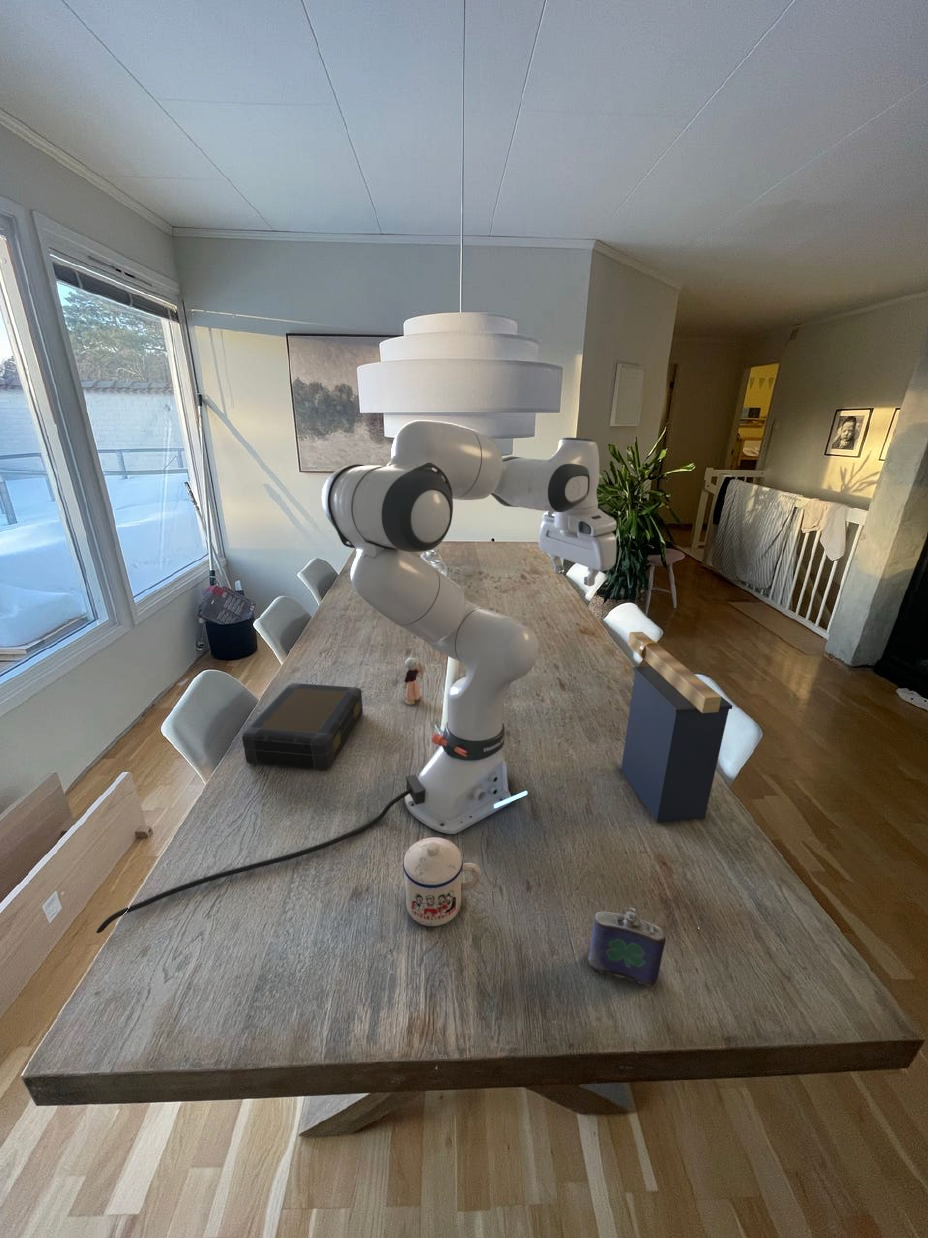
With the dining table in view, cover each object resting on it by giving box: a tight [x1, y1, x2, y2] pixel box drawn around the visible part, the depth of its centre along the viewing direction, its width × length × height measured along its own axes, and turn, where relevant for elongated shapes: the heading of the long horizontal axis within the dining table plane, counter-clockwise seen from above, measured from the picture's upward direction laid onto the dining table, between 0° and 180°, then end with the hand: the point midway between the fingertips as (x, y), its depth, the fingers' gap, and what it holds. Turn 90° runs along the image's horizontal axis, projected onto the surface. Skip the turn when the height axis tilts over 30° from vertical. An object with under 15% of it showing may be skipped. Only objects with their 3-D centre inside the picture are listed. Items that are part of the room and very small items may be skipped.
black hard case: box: [241, 682, 364, 772], centre depth 122 cm, size 25×20×8 cm
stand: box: [620, 663, 733, 823], centre depth 101 cm, size 17×11×25 cm, turn 8°
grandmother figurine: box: [402, 657, 421, 706], centre depth 138 cm, size 8×4×13 cm, turn 169°
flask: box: [587, 906, 667, 987], centre depth 70 cm, size 9×3×11 cm, turn 72°
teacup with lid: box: [402, 836, 482, 927], centre depth 79 cm, size 12×9×12 cm
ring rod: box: [627, 631, 722, 713], centre depth 101 cm, size 29×4×4 cm, turn 8°
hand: (573, 579), depth 114 cm, fingers open, 8 cm apart
